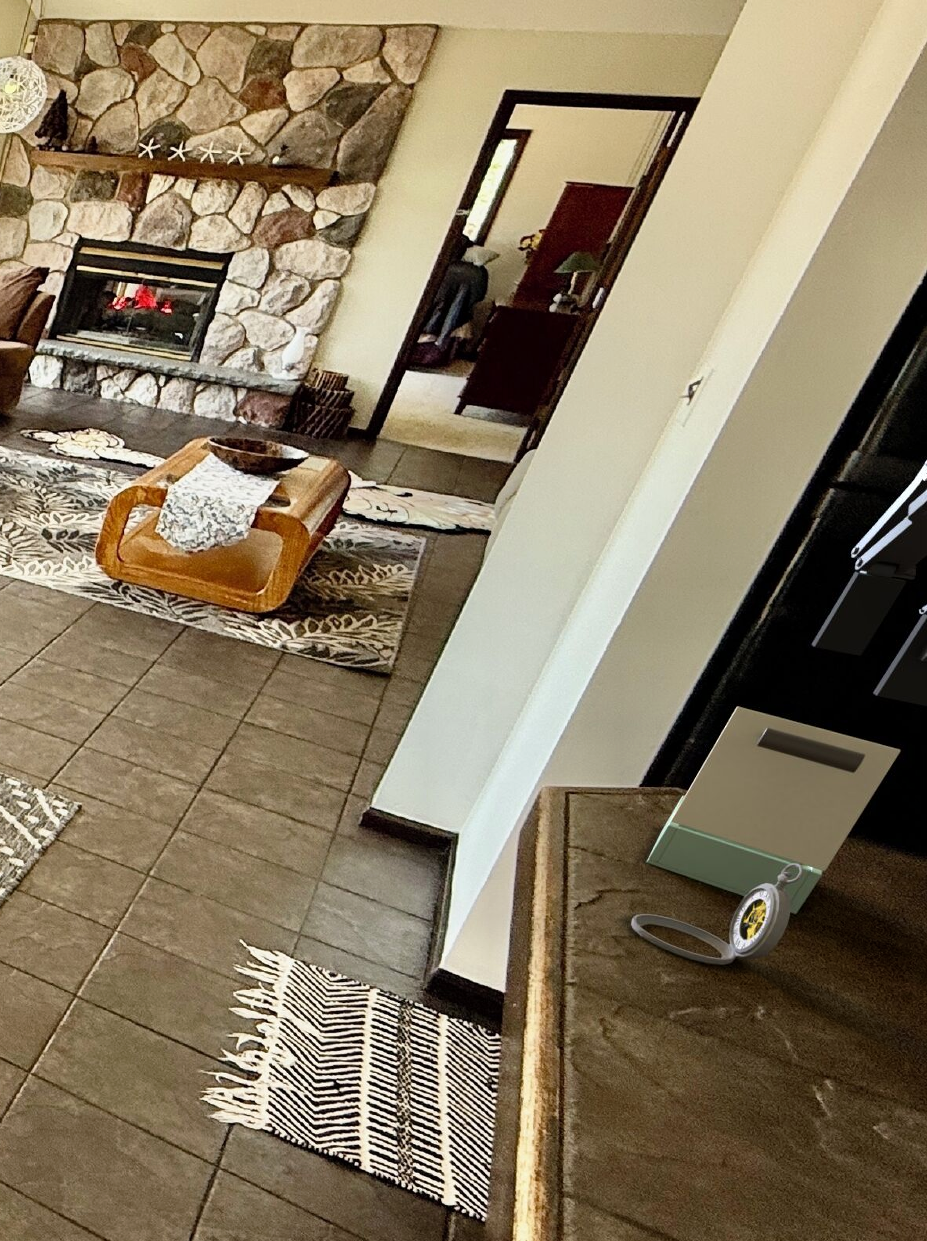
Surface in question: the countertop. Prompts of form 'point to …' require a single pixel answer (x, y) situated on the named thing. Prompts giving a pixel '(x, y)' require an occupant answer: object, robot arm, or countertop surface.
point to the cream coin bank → (784, 787)
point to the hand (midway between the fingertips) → (866, 674)
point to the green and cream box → (727, 862)
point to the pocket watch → (736, 924)
